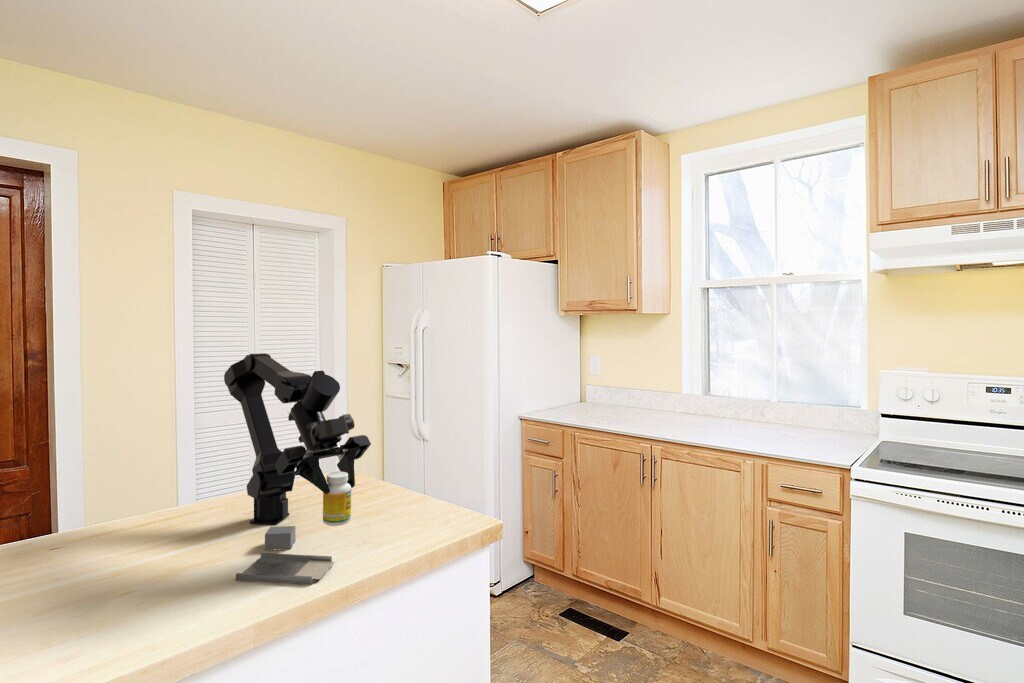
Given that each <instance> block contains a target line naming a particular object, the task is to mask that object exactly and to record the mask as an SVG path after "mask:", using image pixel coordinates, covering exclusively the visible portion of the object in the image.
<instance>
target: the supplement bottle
mask: <svg viewBox="0 0 1024 683" xmlns="http://www.w3.org/2000/svg"><path fill="white" fill-rule="evenodd" d="M347 481H348V473H346V472H341V471H333V472H329V473H328V474H326V482H327V484H328V487H329V490H330V492H329V493H328V494H325V493H324V492H322V523H323V524H325V525H327V526H329V527H337V526H338V527H339V526H344V525H346V524H348V523H349V522H350V521H351V517H352V511H351V510H352V488H351V485H350V484H349V483H347Z"/></svg>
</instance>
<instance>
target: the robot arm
mask: <svg viewBox="0 0 1024 683" xmlns="http://www.w3.org/2000/svg"><path fill="white" fill-rule="evenodd" d="M223 380H224V381H223V382H224V384H225V386H226V387H227V389H228V391H229V392H228V393H229V394H230V396H232V398H234V399H235V400H236V401H237V402H239V403H240V405H241V409H242V413H243V415H244V419H245V422H246V426H247V430H248V433H249V437H250V440H251V444H252V447H253V450H254V453H255V457H256V458H255V460H254V463H253V465H252V468H251V471H252V476H251V477H250V480H249V481H248V483H247V484H246V491H247V496H249V497H251V498H253V518H252V519H250V520H249V523H250V524H259V525H261V524H262V525H263V524H264V525H278V524H280V523H281V522H282V521H284V520H285V519H286V518H287V517H289V516H290V512H289V499H288V497H287V493H288V492H293V488H294V483H295V479H296V476H300V477H301V478H303V479H305V480H306V481H307V482H309V483H311V484H312V485H313V486H315V487H316V488H317V489H319V490H320V491H321V492H322V493H323V492H324V493H325V494H328V493H329V492H330V490H329V487H328V483H327V478H325V475H324V473H323V471H322V468H321V466H320V460H323V459H327V458H331V457H337V458H338V460H339V462H338V463H337V464H336V467H337V469H338V470H339V472H346V473H348V481H347V483H349V484H350V485H351V489H352V488H354V487H355V486H356V477H355V461H356V460H358V459H360V458H362V457H363V456H364V454H365V453H366V452H367V450H368V449H369V448H370V446H371V445H372V443H371V441H370V438H369V437H368V436H367V435H364V434H361V435H356V436H355V435H354V436H350V437H349V438H348V439H347V440H346V442H344V444H341V445H338V443H339V442H341V440H342V436H344V435H345V434H346V435H348V434H349V433H350V430H353V429H354V428H355V421H354V418H353V417H352V415H351V414H350V413H346V414H342V415H340V416H338V418H331V419H327V420H326V417H325V415H324V413H323V412H325V411H327V410H328V409H329V407H330V406H331V404H332V403H333V401H334V400H335V398H336V397H337V395H338V394H339V393H340V390H341V385H340V383H339V381H338V380H337V379H335V377H333V376H331V375H328V374H326V372H325V371H324V370H315V371H314V372H313V373H312V375H310V374H307V373H303V372H297V371H293V370H290V369H288V368H287V367H285V366H284V365H283V364H281V363H280V362H278V361H277V360H275V359H274V358H272V357H271V355H270V354H268V353H263V352H261V353H249V354H247V355H246V356H245V357H244V358H242V359H240V360H239V361H237V362H235V363H233V364H231V365H230V366H229V367H228V368H227V370H226V371H225V372H224V376H223ZM266 383H268V384H269V385H270V386H272V387H273V388H274V396H275V397H276V398H277V399H278V400H279V402H281V403H282V404H291V403H294V405H293V406H292V407H291V408H290V412H289V414H288V417H287V419H288V421H294V423H295V426H296V427H297V431H298V432H299V435H300V436H299V437H298V441H299V442H298V443H303V444H304V446H303V445H297V446H291V447H286V448H284V449H283V451H282V450H281V449H280V448H279V446H278V445H277V440H276V438H275V435H274V432H273V428H272V425H271V422H270V419H269V415H268V412H267V408H266V406H265V403H264V399H263V396H262V394H263V391H264V388H265V386H266ZM295 469H296V470H295Z"/></svg>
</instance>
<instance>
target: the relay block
mask: <svg viewBox="0 0 1024 683" xmlns="http://www.w3.org/2000/svg"><path fill="white" fill-rule="evenodd" d="M296 528H297V527H296V525H285V526H283V525H282V526H270V527H269V528H268V530H266V532H265V534H264V551H278V549H288V550H291V549H292V548H293V546H294V545H295V543H296V533H297V532H296V530H297V529H296ZM293 544H294V545H293ZM274 549H276V550H274Z"/></svg>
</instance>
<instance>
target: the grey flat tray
mask: <svg viewBox="0 0 1024 683" xmlns="http://www.w3.org/2000/svg"><path fill="white" fill-rule="evenodd" d="M335 563H336V562H335V561H333V557H332V556H331V555H315V554H314V555H309V554H290V553H271V552H270V553H269V552H268V553H267V552H261V553H260V557H259V558H258V559H257V560H256V561H255V562H253V563H252V564H250V565H249V566H248V567H247V568H245V570H243V571H242V572H236V573H235V581H236V580H243V581H242V582H254V581H257V583H259V582H260V583H273V582H274V583H276V584H278V583H279V584H292V585H293V584H295V585H296V584H297V585H313V584H314V583H315V581H316V580H320V579H322V578H323V577H324V575H325V574H326V573H327V572H328V571H329V570H330V569H331V567H332V566H333V565H334V564H335ZM258 581H259V582H258Z"/></svg>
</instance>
